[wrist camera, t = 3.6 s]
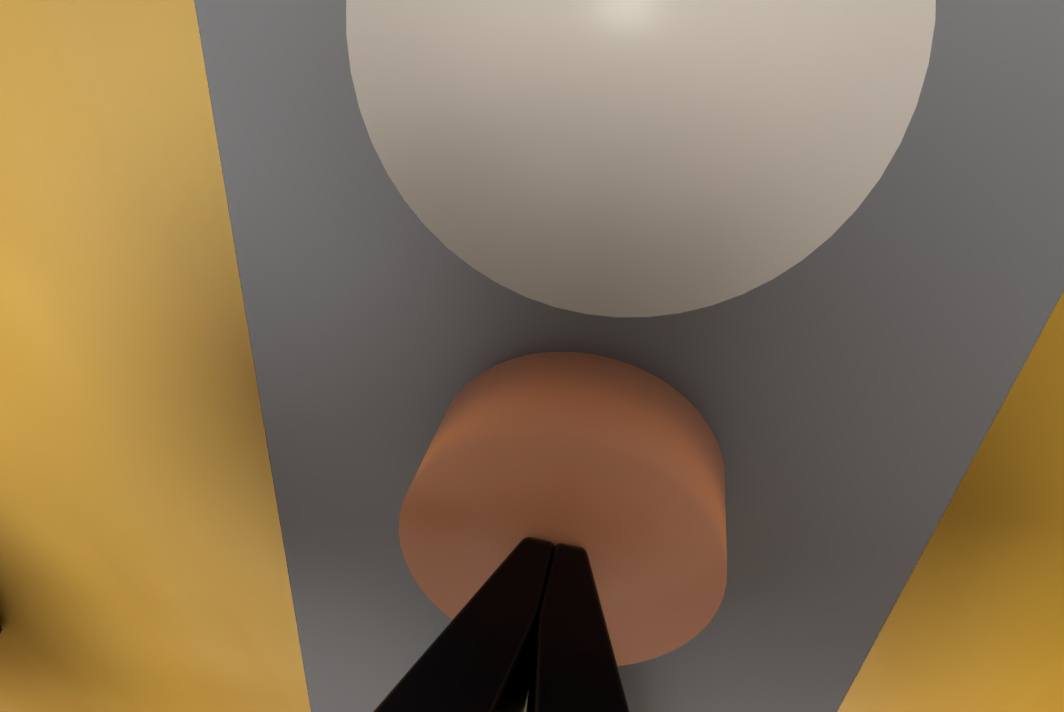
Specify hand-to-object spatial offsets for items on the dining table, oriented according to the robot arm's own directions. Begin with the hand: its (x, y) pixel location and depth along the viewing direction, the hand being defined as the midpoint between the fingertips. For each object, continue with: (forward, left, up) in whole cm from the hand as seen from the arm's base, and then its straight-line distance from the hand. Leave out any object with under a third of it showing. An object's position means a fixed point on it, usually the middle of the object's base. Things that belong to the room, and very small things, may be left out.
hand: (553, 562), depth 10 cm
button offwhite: (0, +6, -1) cm, 7 cm away
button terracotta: (0, 0, -2) cm, 2 cm away
